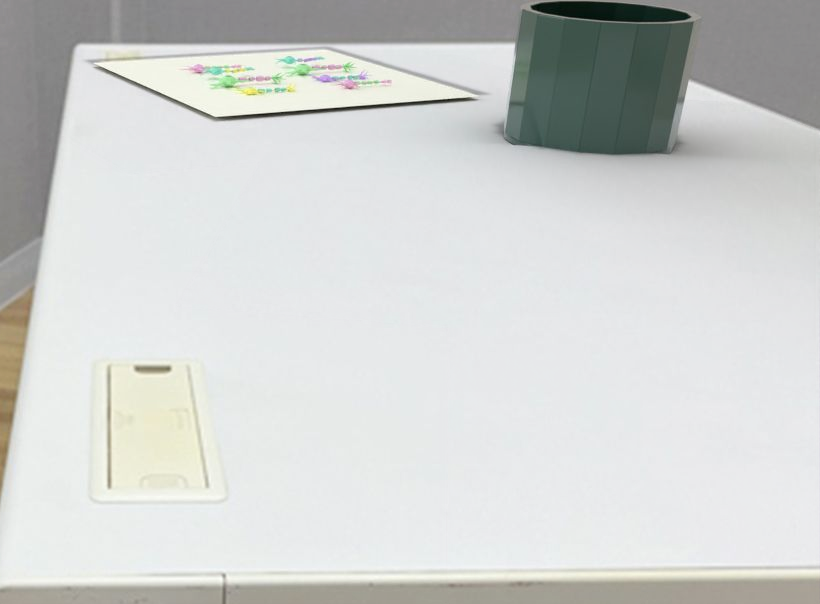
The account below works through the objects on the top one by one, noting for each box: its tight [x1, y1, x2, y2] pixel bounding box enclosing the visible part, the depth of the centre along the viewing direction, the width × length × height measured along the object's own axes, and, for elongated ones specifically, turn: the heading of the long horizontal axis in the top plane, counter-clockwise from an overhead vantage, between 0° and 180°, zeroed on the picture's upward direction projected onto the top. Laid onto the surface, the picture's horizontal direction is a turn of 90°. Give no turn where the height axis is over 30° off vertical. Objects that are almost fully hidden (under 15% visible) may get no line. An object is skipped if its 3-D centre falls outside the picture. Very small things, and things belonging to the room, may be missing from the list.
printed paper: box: [93, 49, 479, 118], centre depth 127 cm, size 30×30×2 cm
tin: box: [503, 0, 703, 155], centre depth 104 cm, size 15×15×10 cm
